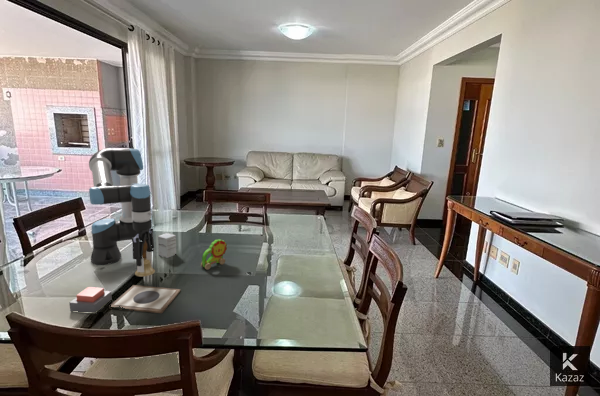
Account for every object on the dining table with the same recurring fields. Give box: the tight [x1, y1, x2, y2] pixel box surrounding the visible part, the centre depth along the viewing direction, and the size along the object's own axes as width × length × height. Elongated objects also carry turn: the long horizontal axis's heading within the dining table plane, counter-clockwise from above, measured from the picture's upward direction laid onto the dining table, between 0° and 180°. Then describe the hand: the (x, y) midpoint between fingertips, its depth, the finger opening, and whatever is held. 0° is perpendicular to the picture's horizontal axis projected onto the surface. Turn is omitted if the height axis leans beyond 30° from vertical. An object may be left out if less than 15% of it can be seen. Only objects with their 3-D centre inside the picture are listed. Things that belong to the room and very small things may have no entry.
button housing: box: [69, 290, 113, 312], centre depth 141 cm, size 11×11×4 cm
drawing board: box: [110, 284, 182, 314], centre depth 150 cm, size 24×19×1 cm
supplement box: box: [157, 232, 177, 259], centre depth 195 cm, size 7×7×13 cm
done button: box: [76, 286, 105, 303], centre depth 141 cm, size 7×7×3 cm
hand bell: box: [134, 240, 156, 278], centre depth 144 cm, size 8×8×16 cm
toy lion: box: [200, 238, 228, 270], centre depth 186 cm, size 16×5×15 cm, turn 141°
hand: (144, 268), depth 146 cm, fingers closed on hand bell, 6 cm apart
